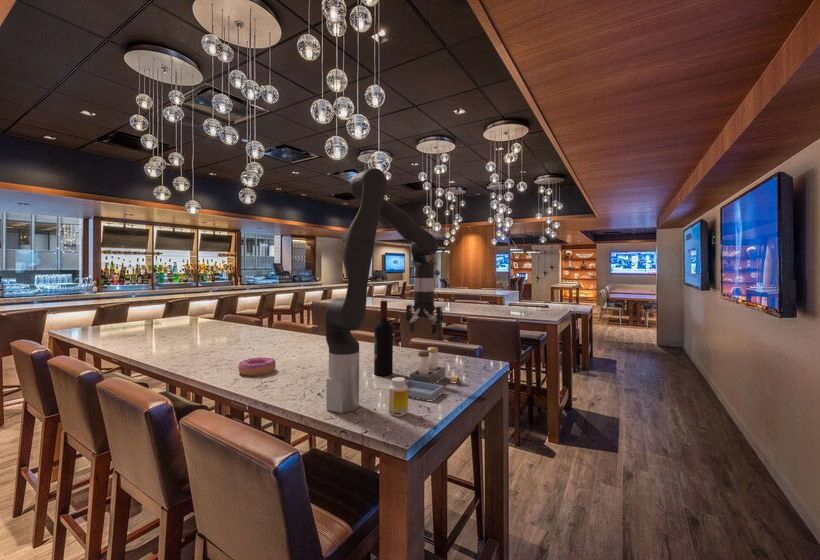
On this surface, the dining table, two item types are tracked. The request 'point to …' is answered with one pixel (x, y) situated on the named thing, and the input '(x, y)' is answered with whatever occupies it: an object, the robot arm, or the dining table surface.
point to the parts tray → (423, 390)
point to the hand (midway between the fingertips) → (423, 333)
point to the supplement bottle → (398, 397)
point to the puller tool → (453, 378)
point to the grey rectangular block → (429, 376)
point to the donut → (257, 366)
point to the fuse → (433, 358)
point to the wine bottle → (383, 344)
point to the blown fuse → (423, 363)
